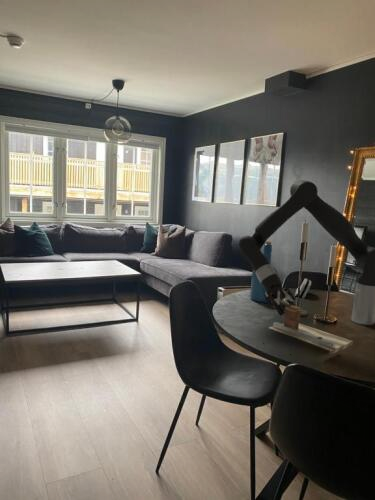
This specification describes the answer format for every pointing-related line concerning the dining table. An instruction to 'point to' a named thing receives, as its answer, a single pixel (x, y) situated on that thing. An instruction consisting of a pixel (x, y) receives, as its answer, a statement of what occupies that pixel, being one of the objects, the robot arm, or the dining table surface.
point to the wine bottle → (256, 286)
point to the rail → (304, 335)
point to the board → (339, 341)
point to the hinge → (304, 288)
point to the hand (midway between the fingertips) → (289, 313)
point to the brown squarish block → (292, 316)
